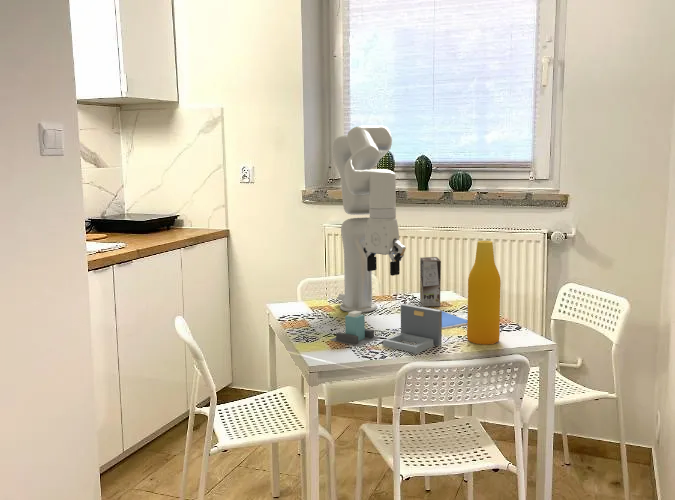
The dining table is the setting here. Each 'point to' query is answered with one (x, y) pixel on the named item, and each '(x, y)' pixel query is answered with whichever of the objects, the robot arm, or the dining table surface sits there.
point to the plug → (355, 324)
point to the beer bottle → (484, 297)
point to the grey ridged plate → (355, 338)
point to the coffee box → (430, 281)
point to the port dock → (417, 329)
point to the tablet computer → (452, 321)
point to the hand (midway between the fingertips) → (383, 272)
